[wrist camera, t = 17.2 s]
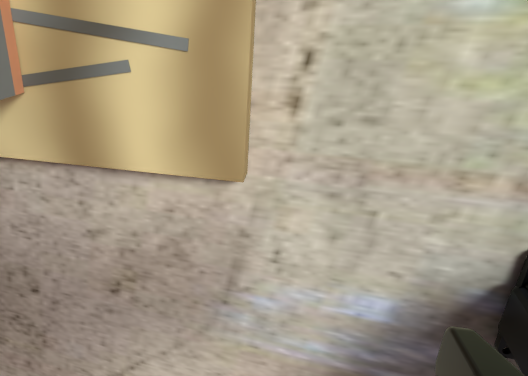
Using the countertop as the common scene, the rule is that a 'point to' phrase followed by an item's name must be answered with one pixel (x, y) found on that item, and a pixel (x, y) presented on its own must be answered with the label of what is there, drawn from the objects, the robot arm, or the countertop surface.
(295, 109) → the countertop surface
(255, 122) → the countertop surface
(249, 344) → the countertop surface
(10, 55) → the block
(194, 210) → the countertop surface
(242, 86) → the board
